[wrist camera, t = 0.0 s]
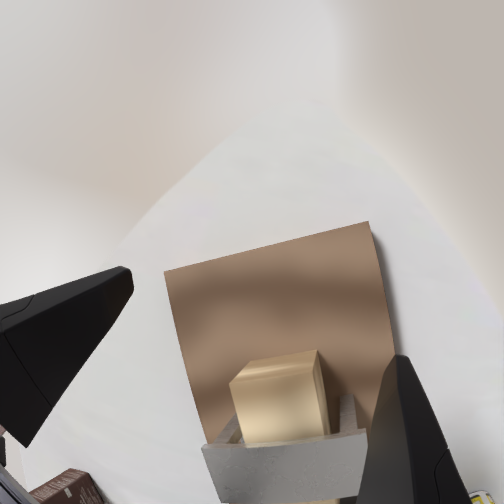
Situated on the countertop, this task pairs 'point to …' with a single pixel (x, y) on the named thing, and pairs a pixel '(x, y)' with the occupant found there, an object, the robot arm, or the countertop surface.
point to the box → (68, 489)
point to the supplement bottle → (481, 498)
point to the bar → (282, 401)
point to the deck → (286, 320)
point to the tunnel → (289, 464)
